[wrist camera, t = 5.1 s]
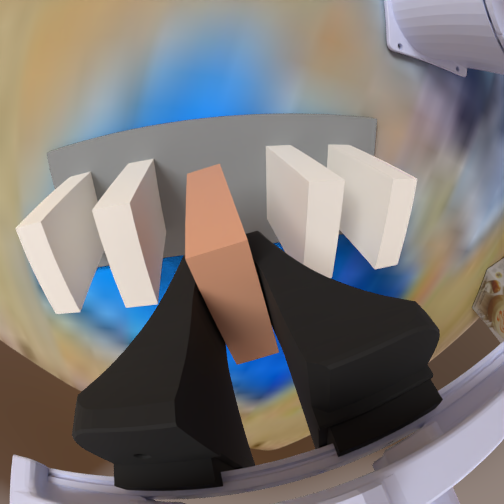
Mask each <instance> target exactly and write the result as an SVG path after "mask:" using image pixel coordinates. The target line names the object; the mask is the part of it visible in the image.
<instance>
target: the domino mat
mask: <svg viewBox="0 0 504 504" xmlns="http://www.w3.org/2000/svg"><path fill="white" fill-rule="evenodd" d="M376 125H377V119H375V118H368V117H358V116H345V115H329V114H251V115H234V116H221V117H211V118H201V119H193V120H185V121H177V122H171V123H164V124H158V125H152V126H147V127H141V128H136V129H131V130H127V131H122V132H117V133H113V134H109V135H105V136H101V137H97V138H93V139H89V140H85V141H82V142H78V143H75V144H71V145H68V146H65V147H62V148H58V149H55V150H52V151H50V152H48V153H47V158H48V163H49V167H50V171H51V176H52V180H53V184H54V187H55V189H56V188H57V187H59V186H60V185H61V184H62V183H63V182H64V181H66V180H67V179H68V178H69V177H71V176H75V175H79V174H83V173H87V172H91V175H92V180H93V184H94V188H95V192H96V196H97V200H98V201H99V200H100V198H101V197H102V196H103V194H104V193H105V192H106V191H107V189H108V188H109V187H110V185H111V184H112V183H113V182H114V180H115V179H116V178H117V177H118V175H119V174H120V173H121V172H122V170H123V169H124V168H125V167H126V166H127V164H128V163H133V162H138V161H144V160H149V159H154V165H155V172H156V178H157V184H158V190H159V196H160V201H161V207H162V212H163V217H164V223H165V228H166V237H165V245H164V252H163V258H166V257H173V256H180V255H184V254H185V219H186V185H187V174H188V173H191V172H194V171H197V170H201V169H204V168H207V167H210V166H213V165H217V164H220V166H221V168H222V171H223V174H224V177H225V179H226V182H227V185H228V188H229V190H230V193H231V196H232V198H233V201H234V204H235V207H236V209H237V212H238V215H239V218H240V220H241V223H242V226H243V229H244V231H245V234H247V233H251V232H254V231H259V232H261V233H262V234H263V235H264V236H265V237H266V238H267V239H268V240H270V241H271V242H272V243H277V242H279V240H278V238H277V236H276V234H275V233H274V231H273V229H272V227H271V225H270V223H269V222H268V220H267V189H266V146H279V145H291V146H293V147H295V148H296V149H298V150H300V151H301V152H303V153H305V154H306V155H308V156H309V157H311V158H312V159H314V160H316V161H317V162H319V163H320V164H322V165H323V166H325V167H326V168H327V158H328V145H351V146H353V147H355V148H357V149H359V150H362V151H364V152H366V153H368V154H370V155H372V156H374V150H375V139H376ZM339 234H343V233H342V232H341V231H340V230H339ZM102 266H109V262H108V260H107V257H106V254H105V251H104V253H103V255H102V257H101V260H100V262H99V264H98V267H102Z"/></svg>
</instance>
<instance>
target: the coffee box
mask: <svg viewBox="0 0 504 504" xmlns="http://www.w3.org/2000/svg"><path fill="white" fill-rule="evenodd" d="M472 308H473V310H474V311H475V312H476V313H477V314H478V315H479V317H480V318H481V319H482V320H483V321H484V323H485V324H486V325H487V326H488V327H489V329H490V330H491V331H492V332H493V334H494V335H495V336H496V337H497V339H498V340H499V341H500V343H502V342H503V341H504V258H503V259H501V260H500V261H498V262H497V263H496V264H494V265H493V266H491V267H490V268H488V270H487V271H486V274H485V277H484V279H483V282H482V285H481V287H480V290H479V292H478V295H477V297H476V299H475V302H474V304H473V307H472Z"/></svg>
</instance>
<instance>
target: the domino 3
mask: <svg viewBox="0 0 504 504" xmlns="http://www.w3.org/2000/svg"><path fill="white" fill-rule="evenodd" d="M185 260H186V262H187V264H188V266H189V268H190V271H191V273H192V275H193V277H194V279H195V282H196V284H197V286H198V288H199V290H200V292H201V294H202V296H203V299H204V301H205V303H206V305H207V307H208V309H209V311H210V313H211V315H212V317H213V319H214V321H215V323H216V325H217V327H218V329H219V331H220V333H221V335H222V337H223V339H224V341H225V343H226V345H227V347H228V349H229V351H230V352H231V354H232V356H233V358H234V360H235V362H236V364H241V363H244V362H248V361H252V360H255V359H258V358H262V357H265V356H268V355H272V354H275V353H278V352H279V351H278V347H277V343H276V340H275V336H274V333H273V329H272V326H271V322H270V318H269V315H268V311H267V308H266V304H265V301H264V297H263V293H262V290H261V286H260V283H259V279H258V275H257V272H256V268H255V265H254V261H253V258H252V254H251V250H250V247H249V243H248V240H247V237H246V234H245V231H244V229H243V226H242V223H241V220H240V218H239V215H238V212H237V209H236V207H235V204H234V201H233V198H232V196H231V193H230V190H229V188H228V185H227V182H226V179H225V177H224V174H223V171H222V168H221V166H220V164H217V165H213V166H210V167H207V168H204V169H201V170H197V171H194V172H191V173H188V174H187V185H186V219H185Z"/></svg>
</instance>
